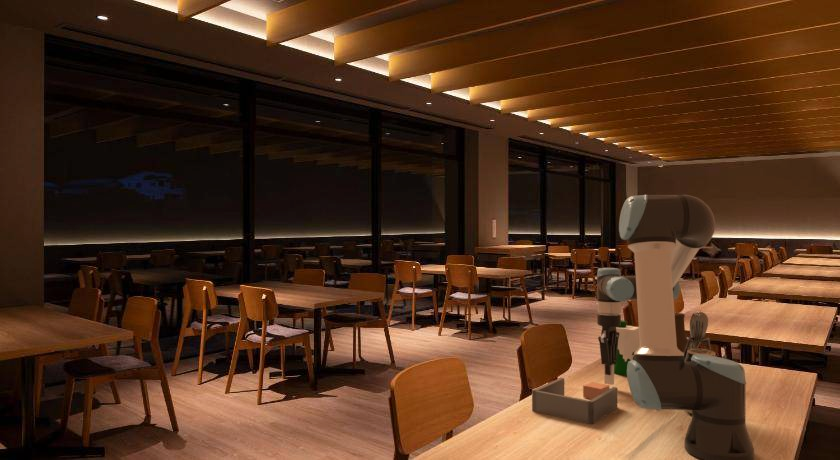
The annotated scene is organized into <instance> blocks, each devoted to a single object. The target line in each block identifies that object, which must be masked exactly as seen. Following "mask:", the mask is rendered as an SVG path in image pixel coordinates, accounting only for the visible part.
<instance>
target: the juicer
mask: <svg viewBox="0 0 840 460" xmlns="http://www.w3.org/2000/svg"><path fill="white" fill-rule="evenodd" d="M708 327H709V317H708V315H707V314H706V313H705V312H703V311H695V312H693V313H692V315H691V316H690V319H689V333H690V336H689V337H688V338H687V339H688V341H687V344H686V347H685V350H684V360H685V362H686V360H687V359H688V357H689V355H688V352H687V350H689V349H692V347H693V349H699V346H700V345H701V344H705V348H706V349H705V350H710V351H712V348H711V343H710V342H711V341H710V337H705V336H706V332H707V331H708ZM685 358H686V359H685Z"/></svg>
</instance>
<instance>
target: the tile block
mask: <svg viewBox="0 0 840 460" xmlns="http://www.w3.org/2000/svg"><path fill="white" fill-rule="evenodd" d="M582 388H583V389H582V393H583V395H582V397H583V398H584V397H585V398H586V399H589V400H591V399H593V398H595V397H597V396H598V395H600V394H602V393H604V392H606V391H607V390H609V389H610V384H605V383H600V382H594V381H591V382H588V383H587V384H584V385H583V386H582Z"/></svg>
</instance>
